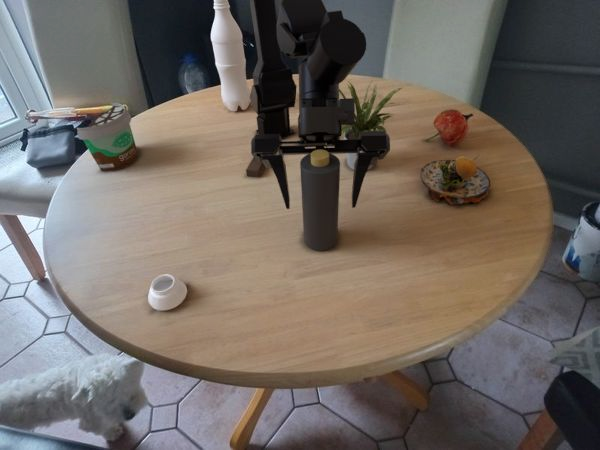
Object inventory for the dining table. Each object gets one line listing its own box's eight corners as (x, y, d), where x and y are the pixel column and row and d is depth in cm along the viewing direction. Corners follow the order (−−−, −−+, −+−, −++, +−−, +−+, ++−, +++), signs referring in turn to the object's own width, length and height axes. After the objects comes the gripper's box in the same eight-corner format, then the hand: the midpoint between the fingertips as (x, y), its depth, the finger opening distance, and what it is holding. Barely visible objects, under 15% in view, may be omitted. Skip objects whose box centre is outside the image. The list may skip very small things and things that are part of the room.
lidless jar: (194, 288, 51) (165, 278, 53) (189, 274, 49) (159, 264, 51) (172, 317, 48) (142, 305, 50) (166, 303, 46) (134, 291, 48)
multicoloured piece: (453, 161, 72) (463, 125, 67) (503, 192, 64) (518, 154, 60) (404, 178, 69) (410, 143, 64) (450, 214, 61) (462, 176, 56)
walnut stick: (260, 152, 78) (259, 146, 77) (271, 153, 78) (270, 146, 77) (247, 176, 72) (245, 169, 71) (258, 177, 71) (257, 170, 70)
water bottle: (250, 112, 93) (234, -3, 76) (221, 113, 93) (199, -1, 76) (253, 100, 98) (238, -10, 81) (226, 101, 98) (206, -8, 82)
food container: (124, 177, 73) (104, 131, 66) (96, 175, 74) (74, 129, 67) (154, 146, 82) (139, 102, 75) (129, 144, 83) (112, 101, 76)
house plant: (306, 174, 71) (303, 90, 60) (332, 141, 80) (334, 63, 69) (378, 191, 66) (389, 103, 55) (398, 153, 75) (410, 71, 64)
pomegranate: (432, 160, 77) (481, 138, 71) (415, 131, 75) (464, 105, 69) (435, 146, 83) (481, 125, 77) (419, 118, 80) (465, 94, 75)
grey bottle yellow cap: (322, 223, 60) (321, 140, 50) (344, 240, 57) (348, 154, 47) (297, 238, 58) (291, 153, 48) (318, 256, 55) (317, 170, 45)
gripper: (242, 75, 45) (243, 202, 44) (397, 70, 44) (401, 199, 43) (257, 109, 56) (258, 211, 55) (381, 105, 55) (384, 209, 54)
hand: (320, 208), depth 52 cm, fingers open, 9 cm apart
